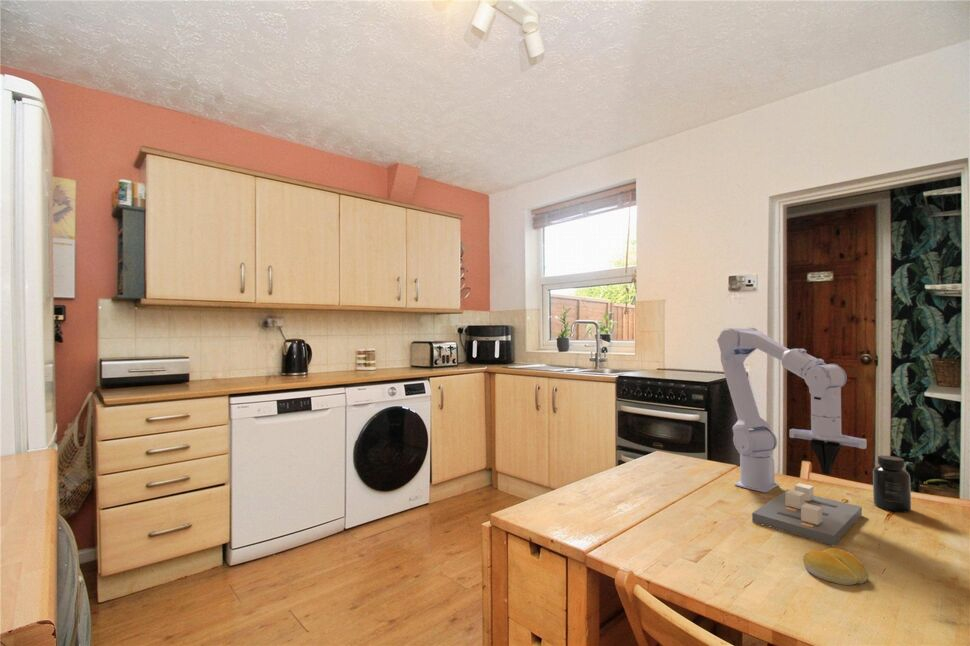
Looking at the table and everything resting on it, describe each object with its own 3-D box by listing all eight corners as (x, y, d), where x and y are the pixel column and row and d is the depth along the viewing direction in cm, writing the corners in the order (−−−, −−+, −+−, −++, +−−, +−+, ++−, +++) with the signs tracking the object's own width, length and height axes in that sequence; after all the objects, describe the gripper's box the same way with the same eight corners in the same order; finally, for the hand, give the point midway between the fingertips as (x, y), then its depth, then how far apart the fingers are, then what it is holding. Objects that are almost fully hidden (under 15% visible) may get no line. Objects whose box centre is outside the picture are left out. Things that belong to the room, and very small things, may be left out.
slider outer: (805, 516, 100) (805, 503, 100) (822, 521, 97) (821, 507, 97) (801, 520, 98) (801, 506, 98) (817, 525, 95) (817, 510, 96)
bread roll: (793, 564, 84) (792, 542, 84) (836, 561, 86) (835, 539, 86) (832, 589, 76) (832, 565, 76) (879, 585, 77) (879, 562, 77)
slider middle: (789, 502, 108) (789, 489, 108) (804, 505, 106) (804, 493, 106) (785, 505, 106) (785, 492, 106) (800, 509, 104) (800, 496, 104)
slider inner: (799, 495, 113) (798, 482, 113) (813, 498, 110) (813, 486, 110) (794, 497, 111) (794, 485, 111) (809, 501, 108) (809, 488, 108)
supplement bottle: (917, 510, 108) (916, 460, 108) (900, 515, 106) (899, 463, 106) (883, 500, 115) (882, 452, 115) (866, 504, 112) (866, 455, 112)
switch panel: (787, 497, 117) (787, 489, 117) (861, 515, 106) (861, 506, 106) (752, 521, 102) (752, 512, 103) (833, 545, 91) (833, 535, 91)
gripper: (784, 413, 110) (785, 469, 110) (860, 422, 99) (861, 485, 99) (794, 409, 115) (795, 463, 115) (868, 418, 104) (869, 478, 103)
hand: (826, 473), depth 107 cm, fingers closed
